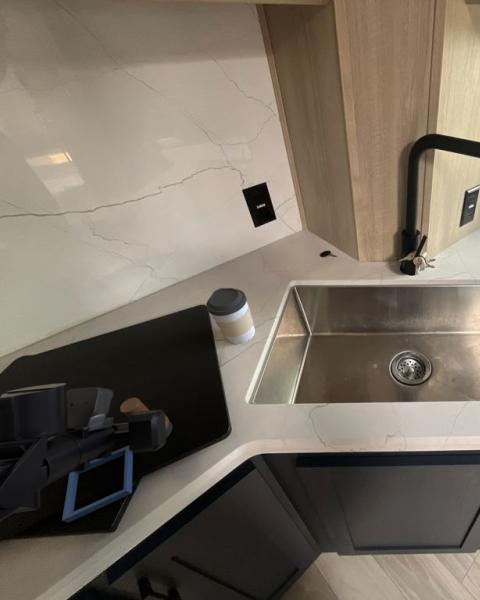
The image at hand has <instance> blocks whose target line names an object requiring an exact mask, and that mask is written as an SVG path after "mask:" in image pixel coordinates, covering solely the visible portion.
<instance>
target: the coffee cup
mask: <svg viewBox="0 0 480 600" xmlns="http://www.w3.org/2000/svg"><path fill="white" fill-rule="evenodd" d="M205 307H206V310H207V312H208V313H209V314H210V315H211V317H212V319H213V321H214V322H215V324H216V325H217V327H218V328H219V330H220V331H221V333H222V334H223V335H224V337H225V338H226V340H227V341H228V342H229V343H230V344H233V345H240V344H244V343H246V342H248V341H250V340H251V339H252V338H253V337H254V335H255V334H256V329H255V325H254V319H253V316H252V312H251V309H250V305H249V303H248V299H247V295H246V294H245V292H244V291H243V290H242V289H238V288H234V287H220V288H217V289H215V290H213V292H212V294H211V295H210V296H209V298H208V299H207V301H206V303H205Z"/></svg>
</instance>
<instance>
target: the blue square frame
mask: <svg viewBox="0 0 480 600" xmlns="http://www.w3.org/2000/svg"><path fill="white" fill-rule="evenodd" d="M133 455H134V453H133V452H132V451H130V445H126V446H124V447H122V448H119V449H117V450H115V451H112V455H111V456H110V457H108V458H103V459H94V460H93V461H91V462H90V468H88V469H87V470H85V471H78V472H71V473H69V474H68V481H67V486H66V493H65V498H64V499H65V500H64V505H63V506H64V507H63V511H62V519H61V521H63V522H65V523H68V524H69V523H71V522H73V521H75V520H77V519H80V518H82V517H84V516H87V515H88V514H90V513H93V512H95V511H96V510H100V509H101V508H104V507H105V506H107V505H110V504H112V503H114V502H116V501H118V500H121V499H122V498H125V497H128V496H129V495H131V494H132V493H133V464H134V463H133V462H134V461H133V460H134V459H133V458H134V456H133ZM122 456H124V469H123V473H124V474H123V489H121V490H119V491H115V492H114V493H112V494H110V495H108V496H105V497H103V498H101V499H99V500H96V501H94V502H93V503H90V504H88V505H85V506H83V507H81V508H79V509H76V510H75V505H76V497H77V489H78V482H79V476H80V474H82V473H84V472H87V471H89V470H92V469H94V468H96V467H99V466H101V465H104V464H107V463H108V462H111V461H113V460H116V459H119V458H120V457H122Z"/></svg>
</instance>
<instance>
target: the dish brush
mask: <svg viewBox="0 0 480 600" xmlns="http://www.w3.org/2000/svg"><path fill="white" fill-rule="evenodd" d="M119 411H120V412H121V413H122V414H124V415H125V417H126V418H128V420H130V418H131V416H132V415H134V414H136V413H139V412H142V411H151V410H150V409H149V407H147V406H146V405H145V404H144V403H143V402H142V401H141V400H140V399H139V398H138V397H130V398H128V399H126V400H124V402H122V403H121V405H120V407H119ZM165 427H166V439H167V438H168V437H169V436H170V435H171V432H172V431H173V424H172V422H171V421H170V420H169V417H168V416H167V415H166V414H165Z"/></svg>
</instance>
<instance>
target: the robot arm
mask: <svg viewBox="0 0 480 600" xmlns="http://www.w3.org/2000/svg"><path fill="white" fill-rule="evenodd" d="M113 397H114V392H113V390H112V389H110V388H102V387H97V386H90V387H79V388H71V389H69V390H68V391H67V383H63V382H61V383H51V384H50V383H49V384H42V385H34V386H29V387H22V388H17V389H13V390H8V391H6V393H3V394H1V395H0V462H2V463H1V464H0V522H1V521H3V520H4V519H6V518H9V516H11V515H13V514H16V513H17V514H18V513H23V512H30V511H31V512H32V511H37V510H39V509H40V508H41V506H42V504H41V501H42V500H41V490H42V489H43V488H46V487H47V486H49V485H50V484H52V483H54V482H56V481H58V480H59V479H61V478H63V477H65V476H67V475H69V474H70V473H71V472H78V471H85V470H87V469H88V468H90V462H91V461H93V460H95V459H103V458H108V457H110V456H111V455H112V452H113V449H112V447H114V445H115V443H116V441H118V440H127V439H128V441H129V443H128V446H130V451H132V452H133V454H139V453H149V452H156V451H158V450H160V449H162V448H163V447H164V446H165V445H166V444H167V438H166V427H165V415H166V412H165V411H164V410H163V409H152V410H150V411H142V412H139V413H136V414H134V415H132V416H131V418H130V419H128V422H123V423H114V417H113V416H111V417H108V415H109V412H110V407H111V403H112V399H113ZM87 471H88V470H87ZM85 472H86V471H85Z"/></svg>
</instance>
